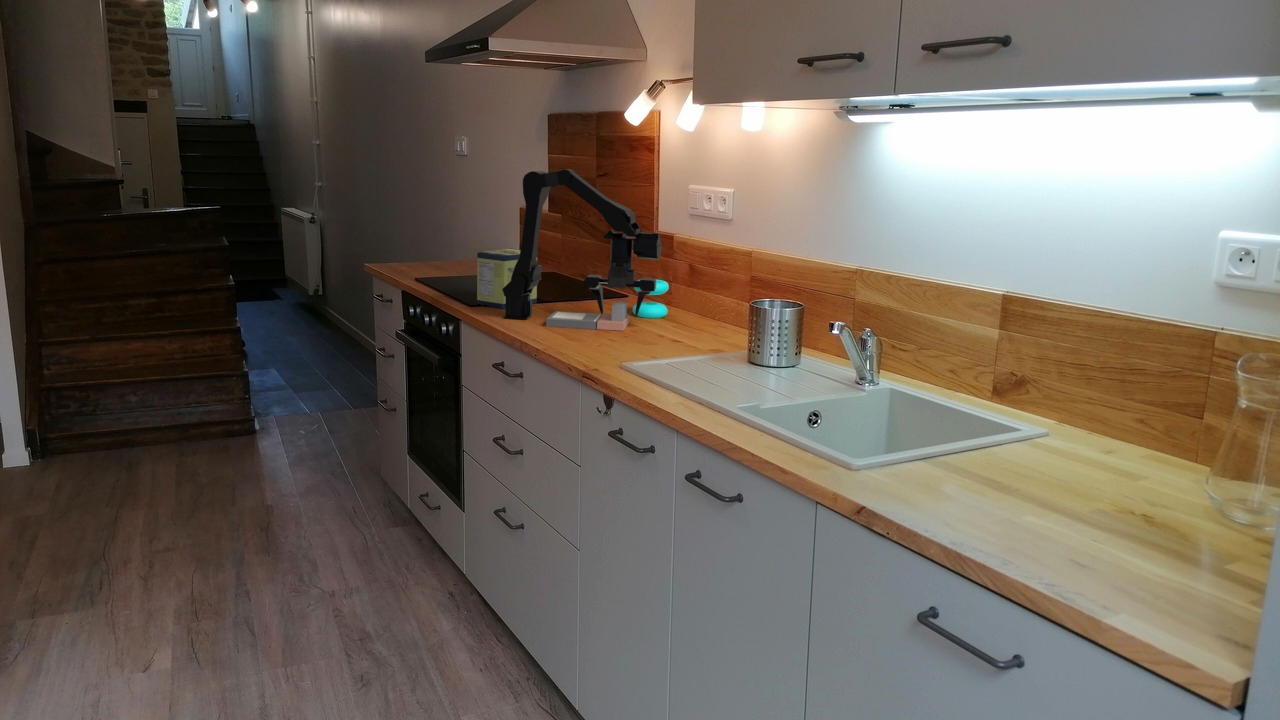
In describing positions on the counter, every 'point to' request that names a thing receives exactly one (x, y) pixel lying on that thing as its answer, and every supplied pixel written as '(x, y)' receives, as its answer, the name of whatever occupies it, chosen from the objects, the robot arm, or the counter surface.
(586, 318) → the grey flat box
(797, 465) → the counter surface
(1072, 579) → the counter surface
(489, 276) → the protein box
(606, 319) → the pink and grey block
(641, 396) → the counter surface
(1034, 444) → the counter surface
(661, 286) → the donuts
